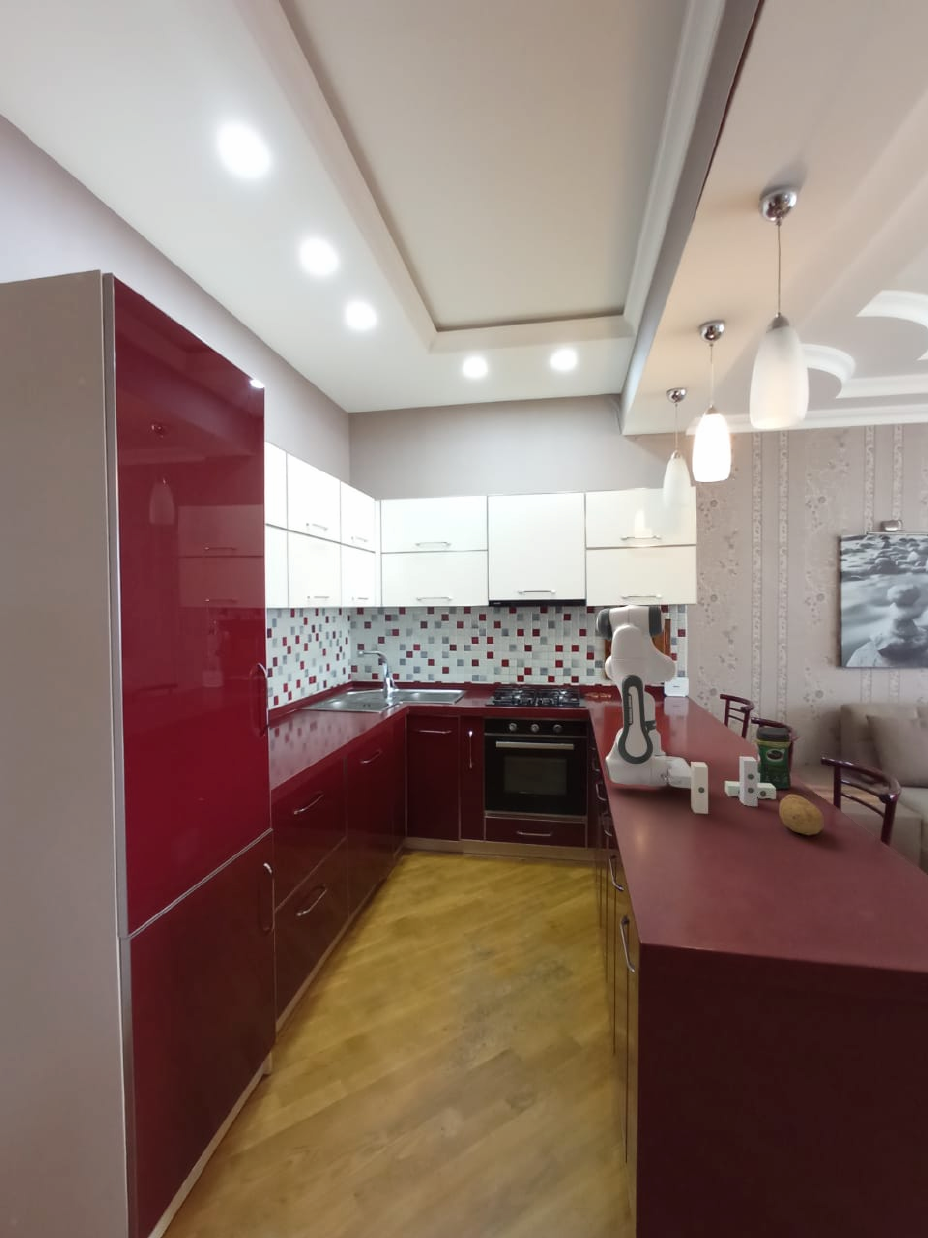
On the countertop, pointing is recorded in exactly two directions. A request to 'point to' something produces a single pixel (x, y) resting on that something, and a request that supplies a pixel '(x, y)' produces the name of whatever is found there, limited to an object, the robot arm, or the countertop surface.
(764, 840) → the countertop surface
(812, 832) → the potato
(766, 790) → the white block
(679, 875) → the countertop surface
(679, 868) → the countertop surface
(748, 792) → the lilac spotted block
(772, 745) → the coffee jar
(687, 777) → the robot arm
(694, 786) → the one-pip tile
